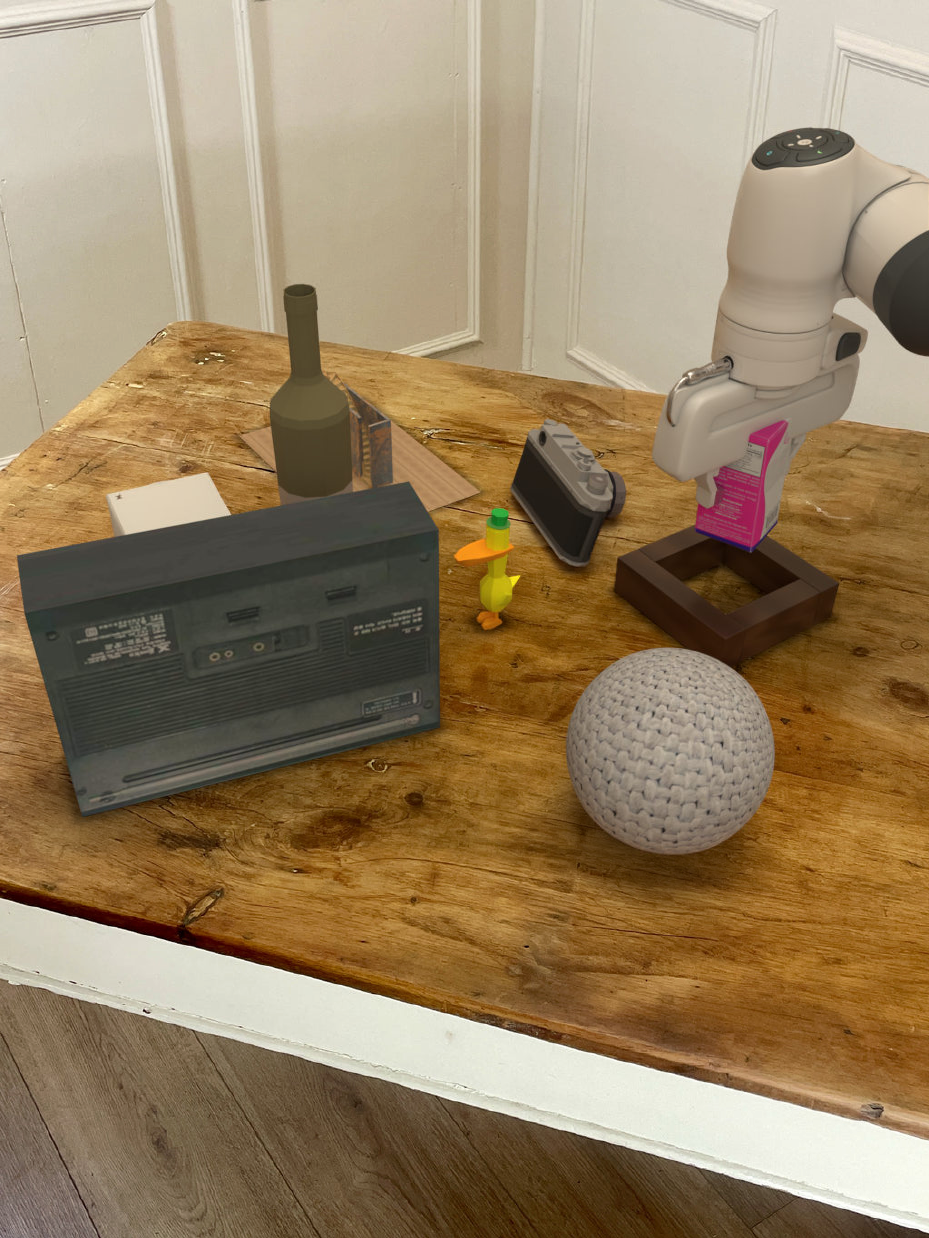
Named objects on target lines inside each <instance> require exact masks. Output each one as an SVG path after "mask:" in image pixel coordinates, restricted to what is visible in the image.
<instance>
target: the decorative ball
mask: <svg viewBox="0 0 929 1238" xmlns="http://www.w3.org/2000/svg"><path fill="white" fill-rule="evenodd" d="M775 749H776V748H775V737H774V733H773V729H772V724H771V722H770V718H769V716H768V714H767V711H766V709H765V707H764V705H763V703H762V701H761V698H760V697H759V696H758V693H756V691H755V689H754V688H753V687H752V685H751V684H750V683H749V682H748V681H747V680H746V679H745V678H744V677H743V676H742V675H741V674H739V672H737V671H736V670H735V669H733V668H732V667H729V666H727V665H726V664H724V663H722V662H721V661H719V660H717V659H715V658H713V657H711V656H708V655H705V654H703V653H699V652H696V651H692V650H688V649H687V648H681V647H680V648H678V647H655V648H649V649H645V650H640V651H636V652H633V653H631V654H628V655H626V656H623V657H621V658H619V659H617V660H616V661H615V662H613V663H612V664H610V665H609V666H607V667H606V668H605V669H604V670H602V671H601V672H600V673H598V675H597V676H596V677H595V678H594V679H593V680H592V681H591V682H590V683H589V684H588V685H587V687H586V688H585V689H584V691H583V692H582V694H581V695H580V697H579V699H578V701H577V702H576V704H575V706H574V708H573V711H572V714H571V716H570V719H569V722H568V726H567V732H566V738H565V757H566V765H567V766H566V767H567V770H568V775H569V779H570V783H571V785H572V788H573V790H574V793H575V794H576V797H577V798H578V801H579V803H580V804H581V806H582V808H583V809H584V810H585V812H586V813H587V815H588V816H589V817H590V818H591V819H592V820H593V822H595V823H596V824H597V825H598V826H599V827H600V828H601V829H602V830H603V831H605V832H606V833H607V834H609V835H610V836H611V837H613V838H615V839H616V840H618V841H620V842H621V843H624V844H625V845H628V846H629V847H632V848H634V849H638V850H640V851H644V852H647V853H651V854H657V855H669V856H670V855H671V856H672V855H673V856H675V855H677V856H678V855H688V854H695V853H699V852H702V851H703V852H704V851H706V850H708V849H712V848H714V847H716V846H718V845H720V844H722V843H723V842H725V841H726V840H728V839H729V838H731V837H732V836H733V835H735V834H736V833H737V832H739V831H740V830H741V829H742V828H744V826H745V825H746V824H747V823H748V822H749V821H750V820H751V819H752V818H753V816H754V815H755V814H756V813H757V811H758V810H759V809H760V807H761V805H762V803H763V801H764V800H765V797H766V795H767V793H768V791H769V788H770V784H771V783H772V779H773V775H774V768H775V760H776V758H775V757H776V756H775V755H776V750H775Z"/></svg>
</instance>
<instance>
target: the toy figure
mask: <svg viewBox="0 0 929 1238" xmlns="http://www.w3.org/2000/svg"><path fill="white" fill-rule="evenodd" d="M509 516H510V513H509V510H507V509H505V508H499V507H495V508H493V509H491V511H490V516H489V517H487V518H486V524H485V538H481V539H478V540H475V541H474V542H471V543H468V544H466V545H464V546H463V547H461V548H460V549H459V550H458V551H457V552H456V553H455V554H454V556H453V557H454V558H453V559H454V560H455V564H458V565H461V566H463V567H465V568H468V567H474V566H477V565H481V564H483V563H486V565H487V573H486V574H485V575H484V576H483V577H482V578H481V579H480V580H479V591H478V592H479V593H478V594H479V599H480V600H479V601H480V603H481V604H482V605H483V607H484V608H485V609H486V611H485V610H484V611H481V612H480V613H479V614H478V615H477V617H476V618H475V620H476V621H477V623H478V624H481V625H480V626H481V628H482V629H483V630H484V631H485V630H486V631H487V630H492V629H495V628H497V627H498V626H500V625H501V624H503V621H502V619H501V618H499V615H500V614H499V613H500V612H502V611H503V610H504V609H505V608H506V607H508V605H510V603H511V602H512V600H513V588H514V587H515V586H516V584H517V582H518V581H519V579H520V578H521V576H522V575H521V574H519V575H513V576H508V575H507V574H506V568H507V563H508V557H509V554H510V553H511V552H512V551H513V550H515V546H514V545H513V544H512V543H511V542H510V529H511V528H510V527H511V525H512V524H511V523H512V522H511V521H510V520H509Z"/></svg>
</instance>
